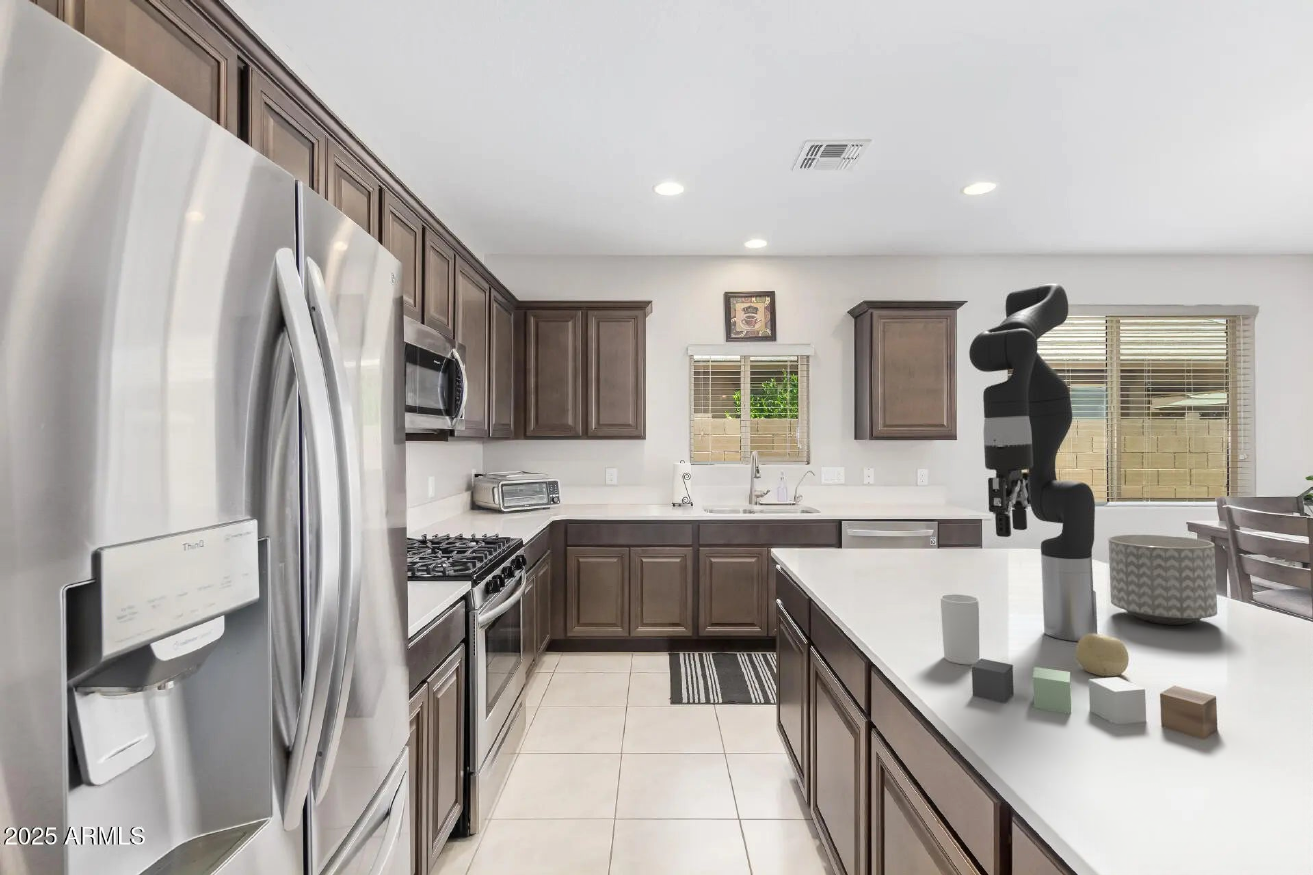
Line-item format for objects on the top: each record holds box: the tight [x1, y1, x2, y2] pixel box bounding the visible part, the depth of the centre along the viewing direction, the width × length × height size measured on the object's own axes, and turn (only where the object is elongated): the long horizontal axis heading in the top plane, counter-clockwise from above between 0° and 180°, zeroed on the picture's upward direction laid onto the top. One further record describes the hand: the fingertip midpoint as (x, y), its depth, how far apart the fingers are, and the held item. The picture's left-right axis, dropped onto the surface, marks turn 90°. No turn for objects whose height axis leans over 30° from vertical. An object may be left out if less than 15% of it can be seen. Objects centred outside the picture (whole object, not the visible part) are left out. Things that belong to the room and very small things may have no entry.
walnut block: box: [1159, 685, 1218, 740], centre depth 93 cm, size 5×5×5 cm
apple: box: [1075, 633, 1129, 678], centre depth 115 cm, size 8×8×8 cm
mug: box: [940, 593, 980, 666], centre depth 125 cm, size 10×7×12 cm, turn 137°
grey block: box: [1088, 676, 1147, 725], centre depth 98 cm, size 5×5×5 cm
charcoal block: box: [971, 658, 1015, 704], centre depth 107 cm, size 5×5×5 cm
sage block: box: [1032, 666, 1072, 715], centre depth 103 cm, size 5×5×5 cm
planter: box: [1107, 534, 1218, 626], centre depth 145 cm, size 19×19×18 cm
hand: (1012, 532), depth 113 cm, fingers open, 8 cm apart
